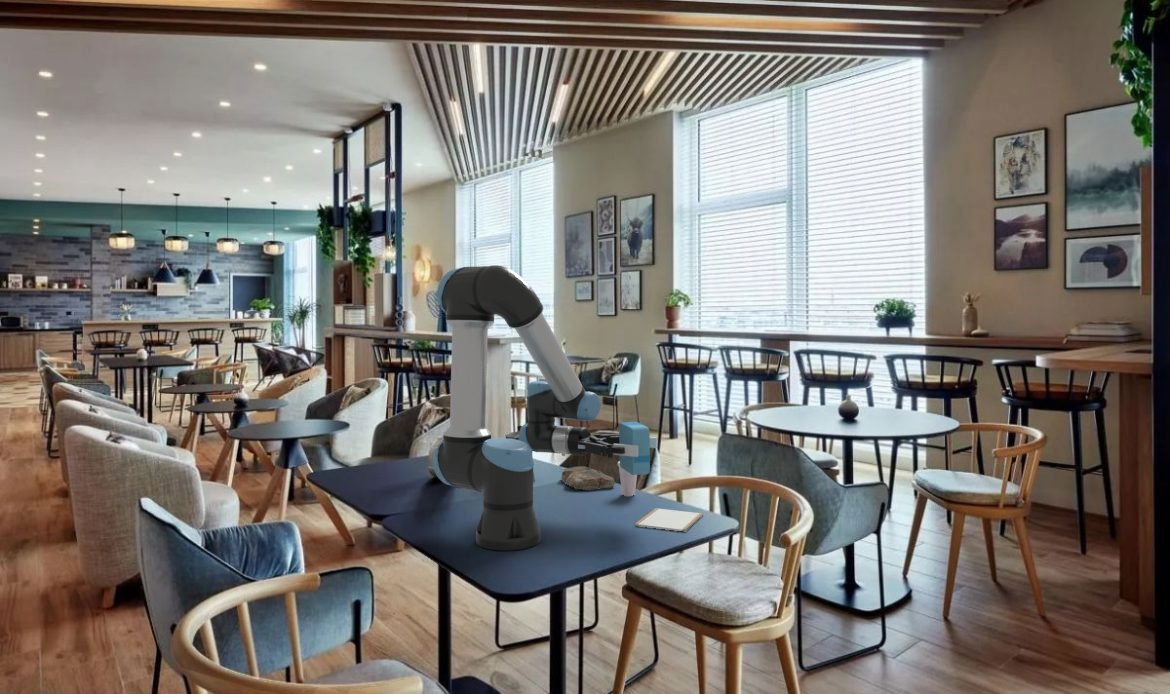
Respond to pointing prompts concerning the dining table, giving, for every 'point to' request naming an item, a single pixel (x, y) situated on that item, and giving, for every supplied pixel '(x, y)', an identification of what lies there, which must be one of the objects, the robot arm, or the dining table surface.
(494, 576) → the dining table surface
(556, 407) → the robot arm
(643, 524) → the mat
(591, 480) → the flat brown rock
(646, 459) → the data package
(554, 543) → the dining table surface
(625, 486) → the smoothie
